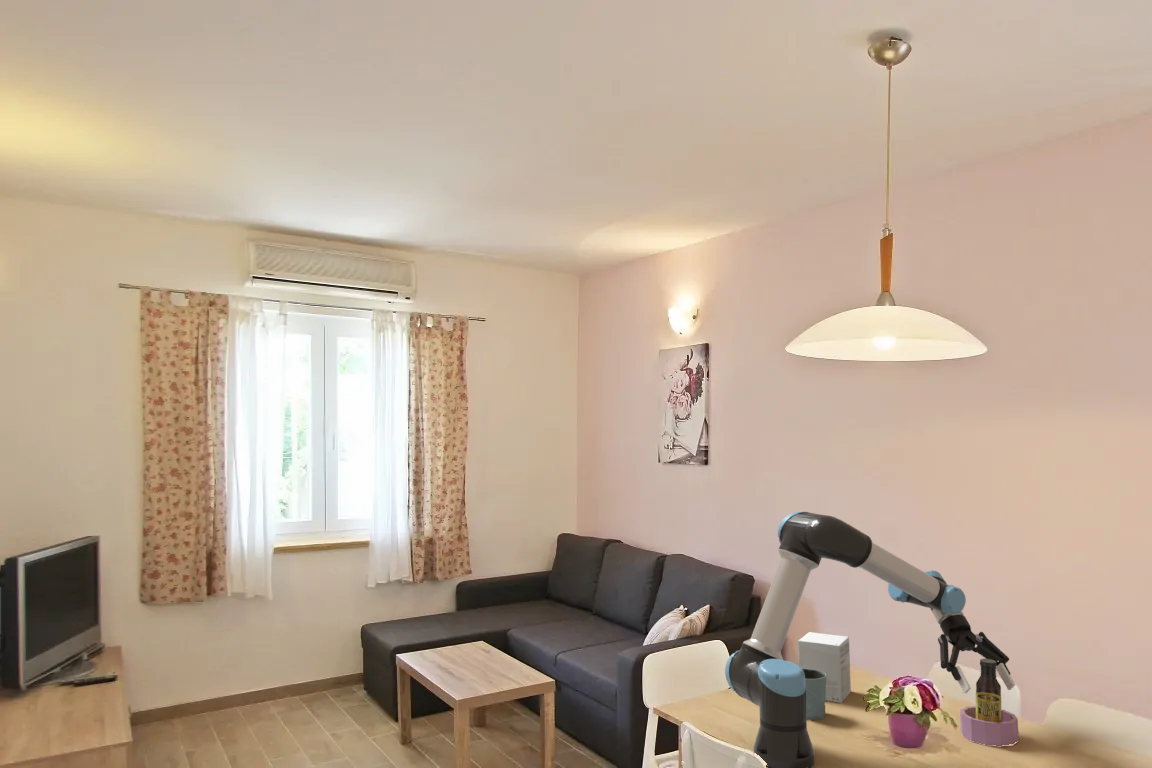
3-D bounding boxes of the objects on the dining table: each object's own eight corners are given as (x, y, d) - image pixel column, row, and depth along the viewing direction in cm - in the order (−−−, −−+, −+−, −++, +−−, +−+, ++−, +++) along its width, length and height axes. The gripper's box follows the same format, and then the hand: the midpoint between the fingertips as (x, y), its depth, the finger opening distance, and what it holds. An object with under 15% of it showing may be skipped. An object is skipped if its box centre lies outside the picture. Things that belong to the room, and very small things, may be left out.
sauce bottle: (975, 736, 215) (972, 661, 216) (976, 728, 221) (973, 655, 222) (1003, 740, 212) (999, 664, 213) (1003, 732, 217) (999, 658, 219)
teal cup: (823, 709, 239) (822, 668, 240) (831, 721, 229) (829, 678, 230) (789, 708, 240) (788, 668, 241) (795, 720, 230) (794, 678, 231)
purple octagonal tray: (1022, 749, 208) (1021, 725, 208) (965, 743, 212) (964, 720, 212) (1012, 730, 220) (1011, 708, 221) (958, 725, 225) (957, 704, 225)
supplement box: (851, 691, 255) (850, 636, 257) (841, 703, 244) (839, 645, 245) (810, 685, 262) (808, 631, 264) (798, 696, 251) (797, 640, 252)
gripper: (983, 625, 237) (1023, 692, 221) (908, 629, 232) (942, 699, 216) (995, 611, 232) (1036, 679, 216) (918, 615, 227) (955, 685, 211)
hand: (989, 689), depth 216 cm, fingers open, 13 cm apart
